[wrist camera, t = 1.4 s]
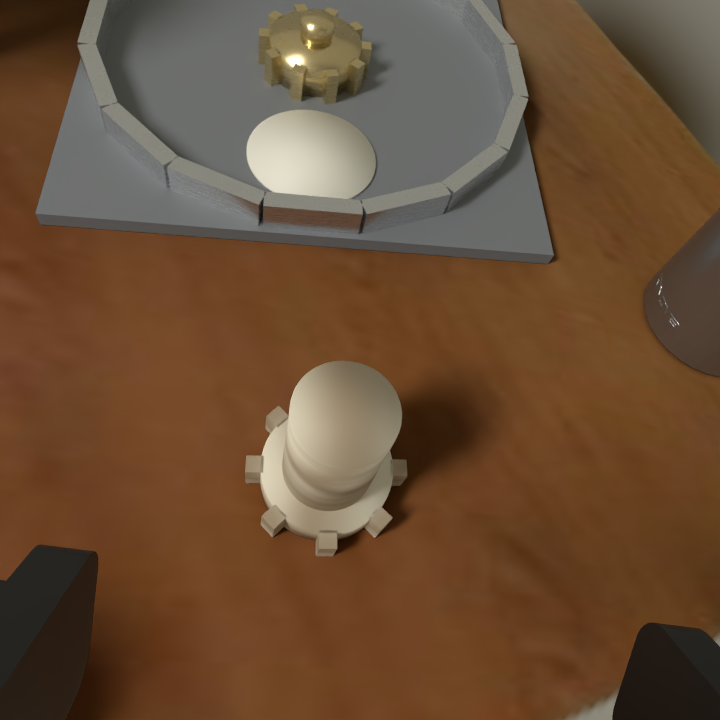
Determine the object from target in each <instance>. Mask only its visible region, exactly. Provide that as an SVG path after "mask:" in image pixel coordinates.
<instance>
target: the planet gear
mask: <svg viewBox="0 0 720 720" xmlns="http://www.w3.org/2000/svg"><path fill="white" fill-rule="evenodd" d="M401 423H402V409H401V404H400V400H399V398H398V395H397V393H396V391H395V390H394V388H393V386H392V385H391V384H390V382H389V381H388V380H387V379H386V378H385V377H384V376H383V375H381V374H380V373H379V372H377V371H376V370H374V369H373V368H371V367H368V366H366V365H364V364H361V363H357V362H352V361H334V362H329V363H325V364H322V365H320V366H318V367H316V368H314V369H312V370H311V371H309V372H308V373H307V374H306V375H305V376H304V377H303V378H302V379H301V380H300V381H299V383H298V384H297V386H296V387H295V389H294V392H293V394H292V398H291V402H290V409H289V416H288V415H287V414H286V413H285V412H284V411H283V410H282V409H281V408H280V407H279V406H278V407H277V408H276V409H274V410H273V411H272V412H271V413H270V414H268V415H267V416H266V430H267V431H268V432H269V433H270V436H269V437H268V439H267V441H266V443H265V446H264V449H263V452H262V456H247V455H246V469H245V482H246V483H260V485H261V492H262V495H263V498H264V501H265V503H266V505H267V507H268V509H269V510H268V511H267V512H265V513H264V514H263V515H262V516H261V526H262V527H263V528H264V529H265V530H266V531H267V532H268V533H269V534H270V535H271V536H272V537H274V536H275V535H276V534H277V533H278V532H279V531H280V530H281V529H282V528H283V527H285V528H286V529H288V530H289V531H290V532H292V533H294V534H296V535H298V536H301V537H303V538H306V539H310V540H315V541H316V556H333V555H334V553H335V552H336V550H337V540H339V539H343V538H346V537H349V536H351V535H353V534H355V533H357V532H359V531H360V530H361V529H363V528H365V529H366V530H367V531H368V532H369V533H370V534H371V535H372V536H373V537H374V538H375V537H376V536H377V535H378V534H379V533H380V532H381V531H382V530H383V529H384V528H385V527H386V526H387V524H388V523H389V522H390V521H391V519H392V517H391V516H390V515H389V514H388V513H387V512H386V511H385V510H384V509H383V508H382V506H383V504H384V502H385V501H386V499H387V497H388V494H389V492H390V489H391V486H401V484H402V483H403V482H404V480H405V479H406V477H407V461H406V460H397V459H392V456H391V452H390V449H391V447H392V445H393V444H394V442H395V440H396V438H397V436H398V434H399V431H400V428H401Z"/></svg>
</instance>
